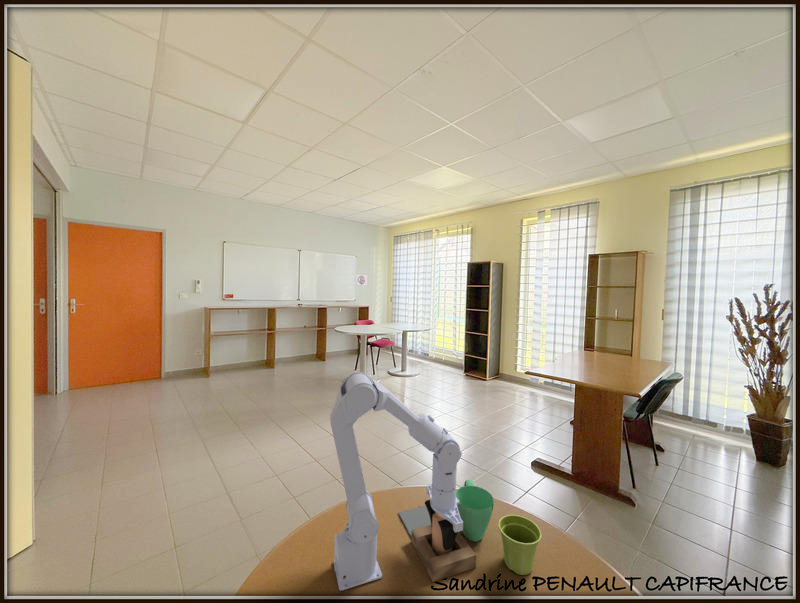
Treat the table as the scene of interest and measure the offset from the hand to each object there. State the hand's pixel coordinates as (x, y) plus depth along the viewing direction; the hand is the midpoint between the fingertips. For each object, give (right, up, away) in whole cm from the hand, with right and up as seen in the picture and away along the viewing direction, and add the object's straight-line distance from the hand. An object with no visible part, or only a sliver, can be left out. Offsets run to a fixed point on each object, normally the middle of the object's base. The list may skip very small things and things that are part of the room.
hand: (442, 539), depth 78 cm
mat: (-4, -3, +11) cm, 12 cm away
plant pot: (+17, -4, -2) cm, 18 cm away
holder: (0, -4, 0) cm, 4 cm away
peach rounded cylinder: (0, -4, 0) cm, 4 cm away
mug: (+9, -4, +9) cm, 13 cm away
